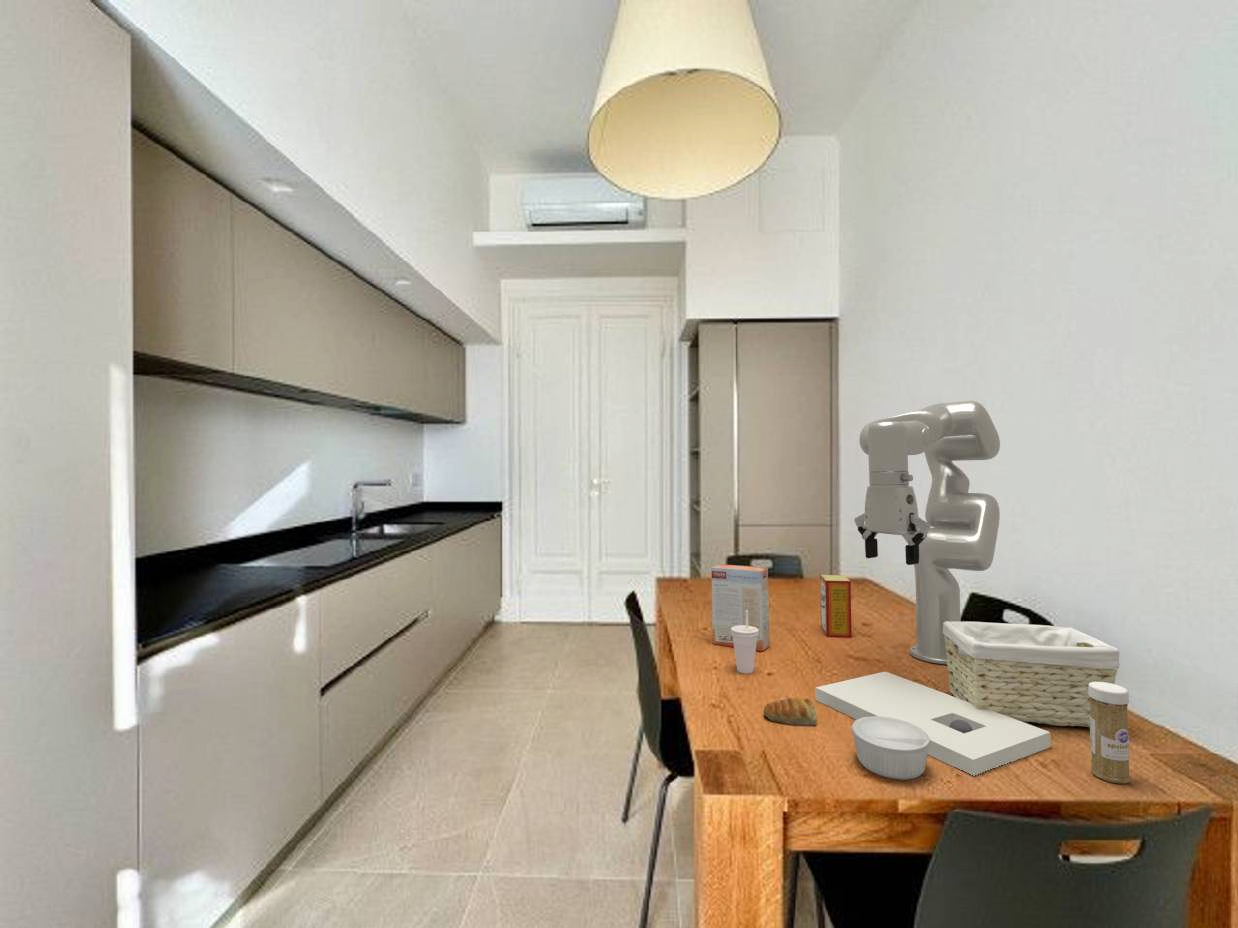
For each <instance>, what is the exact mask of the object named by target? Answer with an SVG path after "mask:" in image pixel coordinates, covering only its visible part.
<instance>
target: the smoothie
mask: <svg viewBox="0 0 1238 928" xmlns="http://www.w3.org/2000/svg"><path fill="white" fill-rule="evenodd" d="M731 634H732V636H733V643H734V647H733V649H734V656H735V662H736V663H735V664H736V672H738V673H740V674H752V673H754V671H755V670H754V669H755V660H756V659H755V658H756V643H757V635H758V634H759V630H758V629H757V628H756V627H753V626H748V610H746V625H739V626H733V627H732V628H731Z"/></svg>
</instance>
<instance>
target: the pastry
mask: <svg viewBox="0 0 1238 928" xmlns="http://www.w3.org/2000/svg"><path fill="white" fill-rule="evenodd" d="M763 715H764V716H765V717H766V718H767V719H769V720H770V721H772V722H777V723H782V724H785V725H795V726H809V727H810V726H815V725H816V724H817V723H818V718H817V712H816V709H815V704H814V701H813V699H812V698H809V697H806V698H800V697H793V696H792V697H786V698H783V699H782V700H781V699H780V700H775V701H773V702H770V703H769V702H768V703H767V704H766V705H765V706H764V708H763Z"/></svg>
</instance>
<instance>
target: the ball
mask: <svg viewBox="0 0 1238 928" xmlns="http://www.w3.org/2000/svg"><path fill="white" fill-rule="evenodd" d="M949 727H950V728H952V729H954V730H957V731H959V732H962V733H967V732H970V731H973V729H972V727H971V726H970V725H969V724H968V723H967V722H966V721H964V720H959V719H958V720H954V721H952V722H951V724H950V726H949Z"/></svg>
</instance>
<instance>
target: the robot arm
mask: <svg viewBox="0 0 1238 928" xmlns="http://www.w3.org/2000/svg"><path fill="white" fill-rule="evenodd" d="M859 446H860V448H861V450H862V452H864V454H866V455H868V478H869V479H868V483H869V485H868V486H867V488H866V493H865V494H866V495H865V500H864V501H865V502H864V513H862V514H861V515H859V516H857V517H855V518H854V523H855V525H856V527H857V531H858V532H859V534H860V535H861V539H862V540H864V550H865V551H864V553H865V554H864V555H865V559H874V558H877V557H879V551H878V550H879V549H878V548H879V547H878V539H877V538H876V536H877V535H878V534H886V535H896V536H897V535H898V536H902V537H903V540H905V542H906V543H907V544H906V545H905V547H904V549H905V564H906V565H907V566H913V568H914V576H915V579H914V581H915V615H916V616H915V621H916V622H915V626H916V627H915V629H916V645H913V646H911V647H910V648H909V653H910V655H911V656H912V657H914V658H915V659H918V660H921V661H924V662H927V663H931V664H936V665H937V664H938V665H947V666H948V662H947V653H946V643H945V639H944V636H945V635H944V634H943V623H944V622H946V621H949V622H953V621H956V622H961V588H960V585H959V582H958V580H957V578H956V577H955V576H954V575H953V573H952V572H951V571H950V570H951V569H954V570H963V571H975V572H983V571H986V570H988V569H989V568H990V567H992V564H993V561H994V556H995V550H996V544H997V537H998V532H999V527H1000V518H1001V515H1000V514H1001V512H1000V506H999V503H998V501H997V500H996V497H994V496H992V495H990V494H988V493H984V492H983V493H981V492H969V489H970V485H971V484H970V480H969V478H968V476H967V474H965V472H964V471H963V470H962V469H961V468H960V467H958V466H957V465H956V464H955V463H954V461H955V462H956V461H987V460H992V459H994V458H995V457H996V456H997V455H998V454H999V452H1000V449H1001V440H1000V436H999V434H998V431H997V428H996V426H995V423H993V420H992V418H991V416H990V414H989V412H988V411H987V409H986V408H985V407H984V406H983V404H982V403H980V402H978V401H974V400H966V401H955V402H953V401H952V402H942V403H935V404H930V405H928V406H926V407H924V408H921V409H919V410H916V411H915V410H914V411H911V412H910V411H909V412H906V413H901V414H898V415H894V416H890V417H885V418H881V419H877V420H874V421H871V422H869V423H867V424H866V425H864V426H863V428H862V429H861V431H860V434H859ZM923 453H924V455H925V460H926V463H927V466H928V469H929V472H930V475H931V485H930V489H929V494H928V497H927V503H926V507H925V513H924V514H925V515H924V517H925V520H923V519H922V518H921V517H920V516H919V509H918V503H917V502H918V501H917V498H916V494H915V490H914V487H913V486H910V485H909V483H910V482H913V480H914V476H913V475H912V474H910V473H909V456H917V455H920V454H923ZM949 569H950V570H949Z"/></svg>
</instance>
